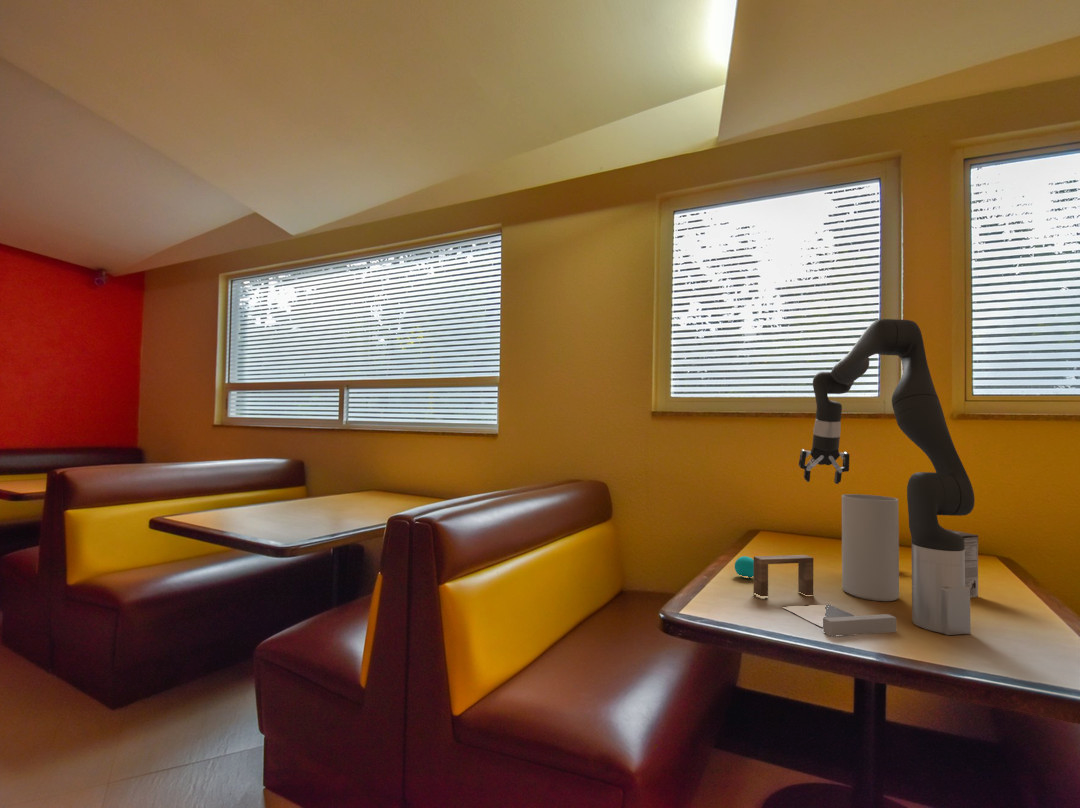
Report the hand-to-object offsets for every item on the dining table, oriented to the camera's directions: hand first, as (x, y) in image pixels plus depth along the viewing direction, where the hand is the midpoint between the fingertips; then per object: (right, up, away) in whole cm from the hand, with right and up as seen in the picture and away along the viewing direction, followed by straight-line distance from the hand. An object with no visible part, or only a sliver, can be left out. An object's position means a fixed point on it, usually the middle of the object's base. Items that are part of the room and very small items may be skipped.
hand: (821, 482), depth 170 cm
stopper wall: (-25, -22, -61) cm, 70 cm away
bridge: (-30, -23, -38) cm, 53 cm away
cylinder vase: (-6, -24, -35) cm, 43 cm away
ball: (-33, -21, -22) cm, 45 cm away
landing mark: (-27, -23, -51) cm, 62 cm away
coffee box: (+18, -25, -31) cm, 44 cm away
